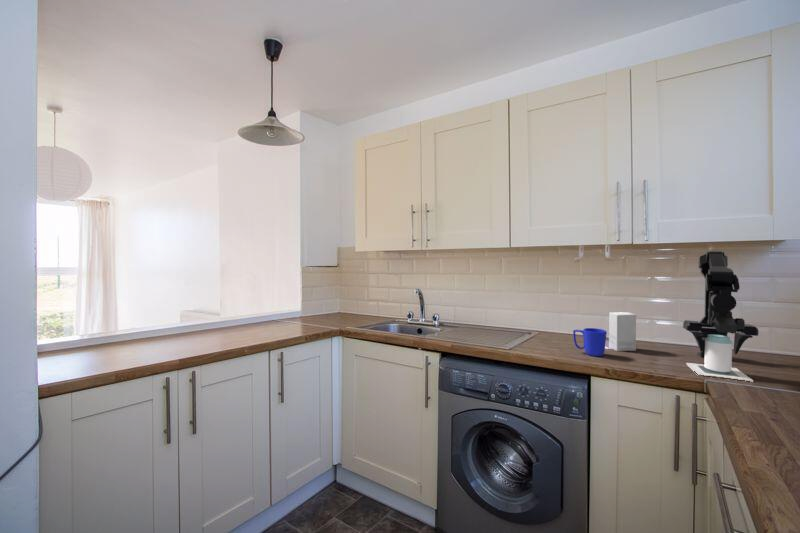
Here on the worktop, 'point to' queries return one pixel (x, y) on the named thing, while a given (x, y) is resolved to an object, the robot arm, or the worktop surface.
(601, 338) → the mug
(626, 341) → the skincare box
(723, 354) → the can
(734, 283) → the robot arm
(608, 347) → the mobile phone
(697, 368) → the dock
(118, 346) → the worktop surface
